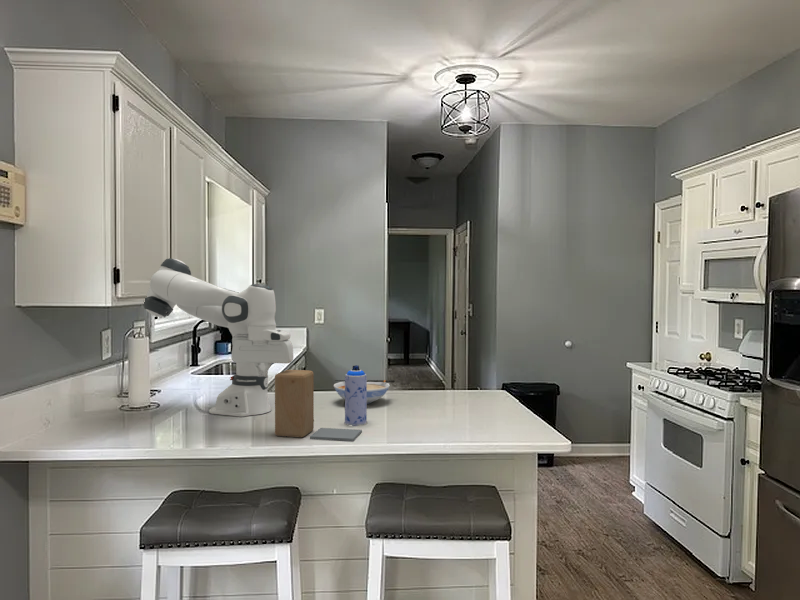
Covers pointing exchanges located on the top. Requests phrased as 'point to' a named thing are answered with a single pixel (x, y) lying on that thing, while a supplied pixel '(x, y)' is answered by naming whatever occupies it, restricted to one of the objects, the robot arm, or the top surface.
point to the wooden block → (294, 403)
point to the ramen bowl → (373, 389)
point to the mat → (336, 434)
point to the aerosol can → (355, 397)
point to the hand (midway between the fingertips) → (262, 376)
